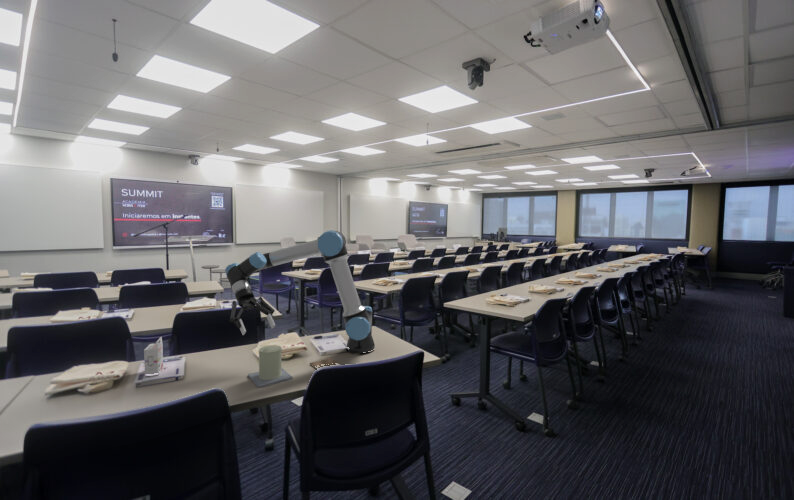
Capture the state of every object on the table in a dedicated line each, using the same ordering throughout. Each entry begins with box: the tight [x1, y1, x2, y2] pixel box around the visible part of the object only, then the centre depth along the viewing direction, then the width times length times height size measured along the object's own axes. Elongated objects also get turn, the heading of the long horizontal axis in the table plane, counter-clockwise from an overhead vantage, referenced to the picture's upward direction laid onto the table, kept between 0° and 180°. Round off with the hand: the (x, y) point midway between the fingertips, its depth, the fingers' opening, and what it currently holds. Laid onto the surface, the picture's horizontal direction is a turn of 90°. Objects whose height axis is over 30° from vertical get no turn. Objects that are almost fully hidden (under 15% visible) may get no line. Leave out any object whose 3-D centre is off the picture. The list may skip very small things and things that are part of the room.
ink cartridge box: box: [143, 336, 164, 375], centre depth 148 cm, size 9×5×15 cm, turn 22°
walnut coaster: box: [309, 357, 338, 370], centre depth 160 cm, size 11×11×1 cm
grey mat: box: [247, 367, 294, 389], centre depth 146 cm, size 14×14×1 cm
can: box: [258, 344, 283, 380], centre depth 146 cm, size 9×9×12 cm
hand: (259, 329), depth 153 cm, fingers open, 13 cm apart
